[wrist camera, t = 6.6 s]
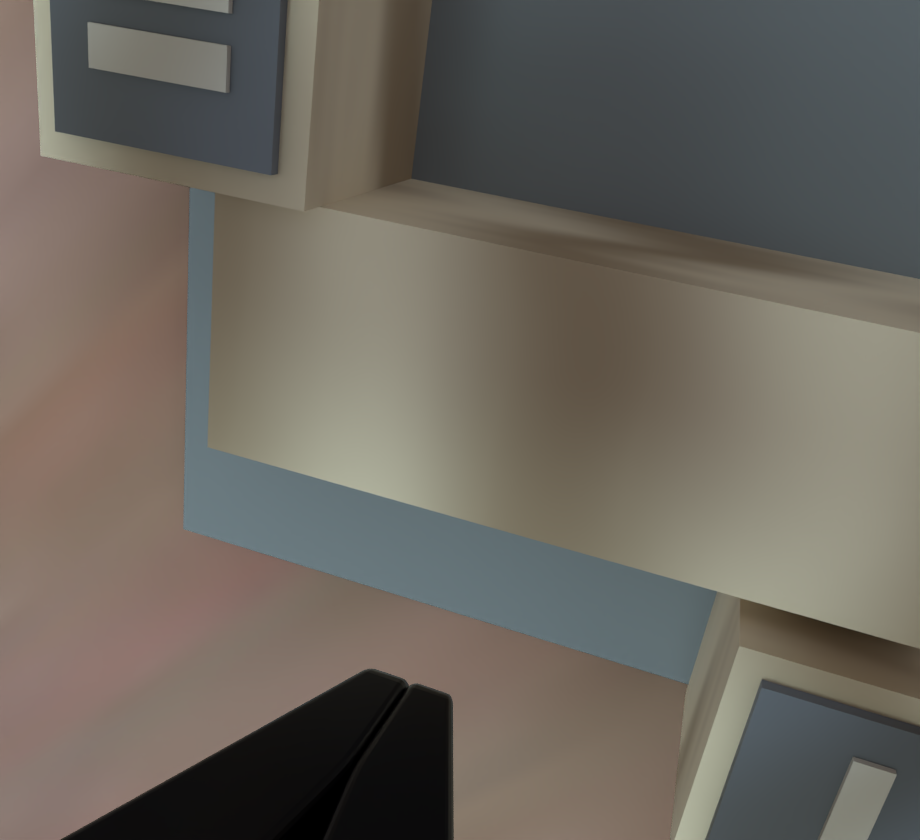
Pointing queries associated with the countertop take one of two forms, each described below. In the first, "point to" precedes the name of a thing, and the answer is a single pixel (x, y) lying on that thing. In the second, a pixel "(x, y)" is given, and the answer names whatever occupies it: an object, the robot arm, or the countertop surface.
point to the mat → (614, 196)
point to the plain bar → (585, 388)
